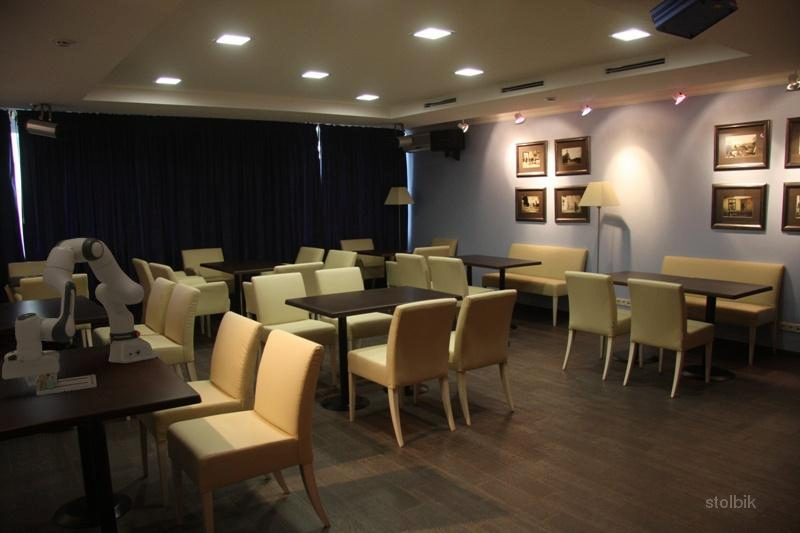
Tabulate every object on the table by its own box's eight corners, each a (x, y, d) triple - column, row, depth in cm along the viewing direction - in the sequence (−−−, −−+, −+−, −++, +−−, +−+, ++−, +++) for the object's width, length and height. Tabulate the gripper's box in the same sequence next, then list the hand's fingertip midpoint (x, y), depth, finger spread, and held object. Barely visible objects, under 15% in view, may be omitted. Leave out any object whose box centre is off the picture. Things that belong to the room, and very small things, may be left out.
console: (95, 378, 269) (95, 373, 269) (96, 386, 256) (96, 381, 256) (38, 386, 259) (37, 381, 258) (36, 395, 246) (36, 390, 245)
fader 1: (54, 385, 253) (53, 375, 253) (53, 388, 249) (53, 377, 249) (47, 386, 252) (46, 376, 252) (47, 389, 248) (46, 378, 248)
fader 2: (57, 380, 261) (56, 370, 260) (56, 382, 257) (56, 372, 256) (50, 381, 260) (49, 371, 259) (50, 383, 256) (49, 373, 255)
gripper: (59, 348, 254) (61, 380, 255) (1, 354, 244) (4, 388, 246) (58, 351, 248) (61, 383, 250) (-1, 358, 239) (3, 392, 240)
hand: (32, 386), depth 248 cm, fingers closed
